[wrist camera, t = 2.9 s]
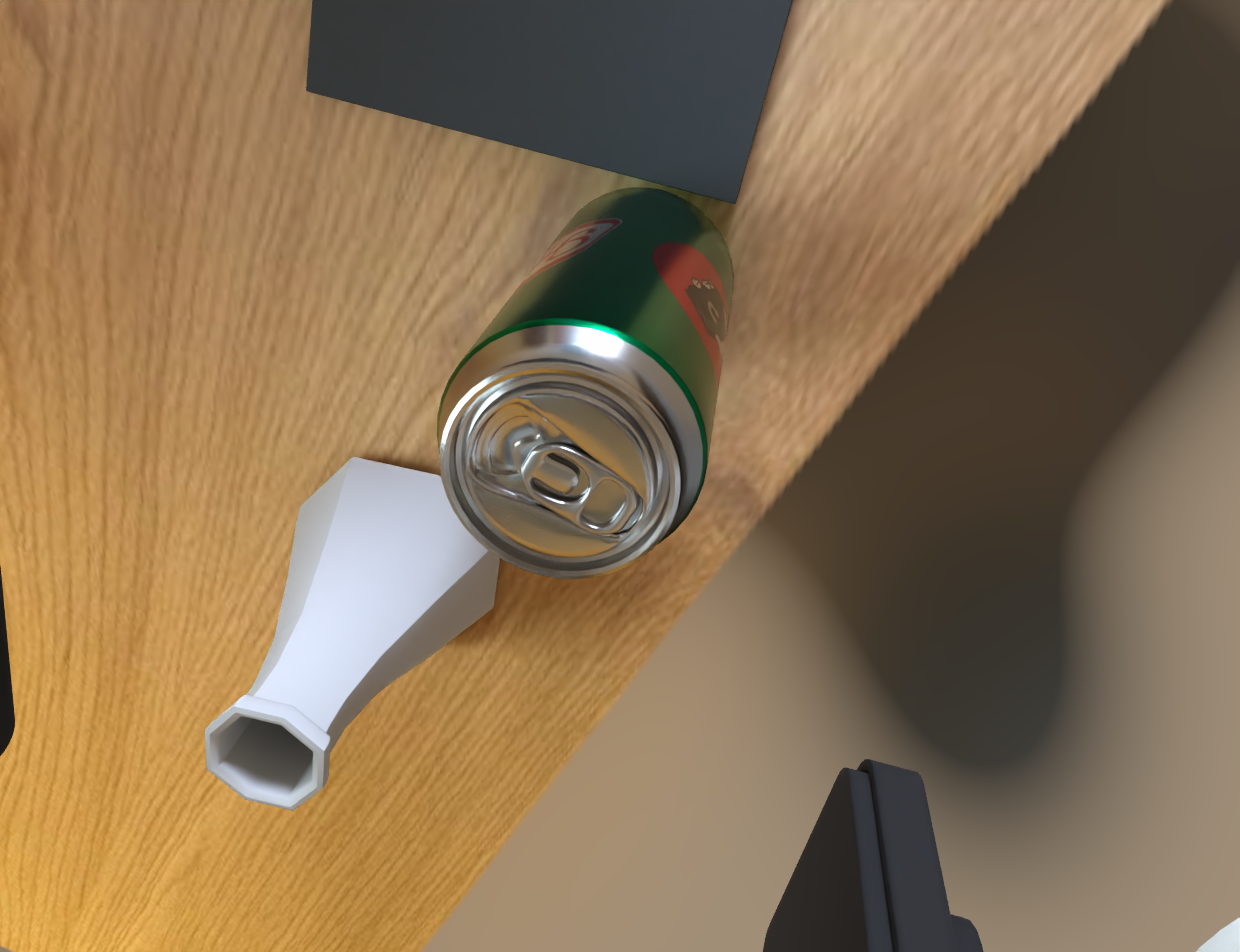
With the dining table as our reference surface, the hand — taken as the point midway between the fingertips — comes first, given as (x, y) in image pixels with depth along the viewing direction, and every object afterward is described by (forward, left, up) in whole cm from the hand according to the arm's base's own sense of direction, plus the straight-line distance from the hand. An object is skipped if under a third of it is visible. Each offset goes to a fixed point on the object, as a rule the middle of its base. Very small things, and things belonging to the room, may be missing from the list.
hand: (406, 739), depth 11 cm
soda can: (0, 0, -19) cm, 19 cm away
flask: (+5, +11, -19) cm, 23 cm away
